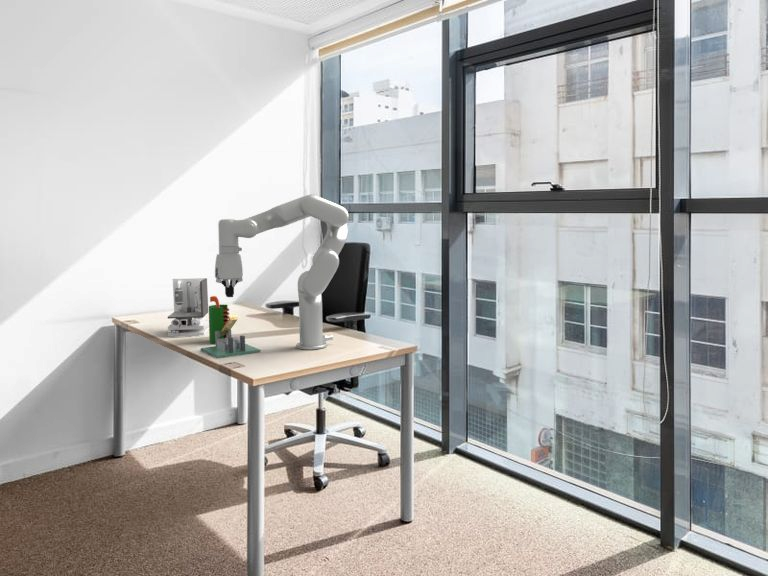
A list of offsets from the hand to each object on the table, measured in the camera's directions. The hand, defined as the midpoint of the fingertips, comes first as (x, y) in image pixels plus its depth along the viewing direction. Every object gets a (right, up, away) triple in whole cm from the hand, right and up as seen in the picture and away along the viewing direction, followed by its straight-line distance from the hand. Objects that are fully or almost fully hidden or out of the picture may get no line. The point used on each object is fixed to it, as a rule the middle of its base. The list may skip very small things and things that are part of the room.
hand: (229, 296), depth 241 cm
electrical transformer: (-30, -18, +43) cm, 56 cm away
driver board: (-1, -22, +4) cm, 22 cm away
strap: (-1, -12, +4) cm, 13 cm away
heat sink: (-2, -21, +6) cm, 22 cm away
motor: (-10, -20, +23) cm, 32 cm away
